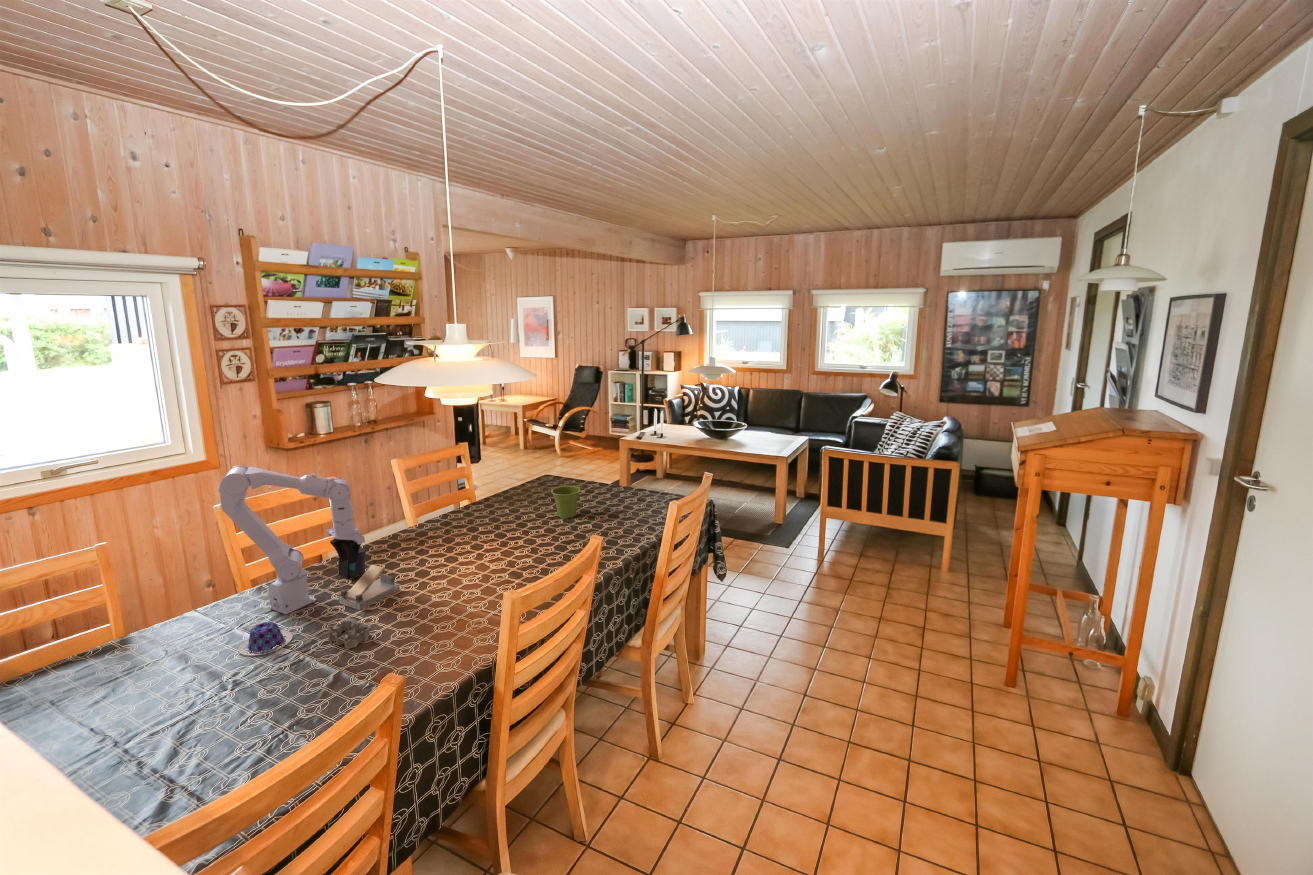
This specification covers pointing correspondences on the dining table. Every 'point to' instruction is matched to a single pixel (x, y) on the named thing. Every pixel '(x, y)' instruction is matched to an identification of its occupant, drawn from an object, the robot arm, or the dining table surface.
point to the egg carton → (349, 633)
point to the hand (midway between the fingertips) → (349, 561)
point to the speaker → (353, 566)
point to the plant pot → (566, 500)
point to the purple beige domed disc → (265, 638)
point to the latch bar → (365, 581)
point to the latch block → (371, 593)
